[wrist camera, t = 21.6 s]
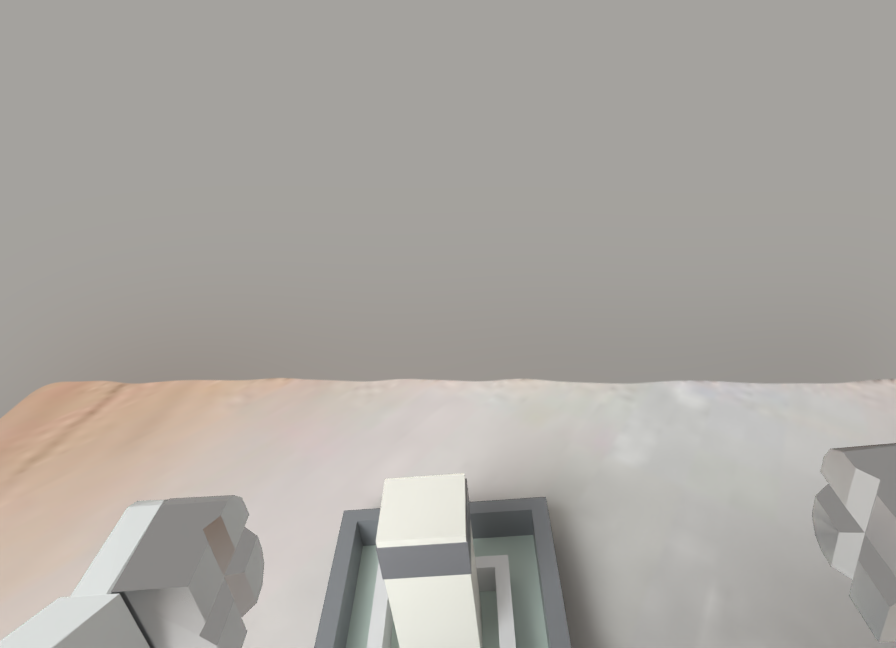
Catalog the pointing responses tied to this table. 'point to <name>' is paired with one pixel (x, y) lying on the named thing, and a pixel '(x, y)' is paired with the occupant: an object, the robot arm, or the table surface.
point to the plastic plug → (430, 562)
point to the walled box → (498, 570)
